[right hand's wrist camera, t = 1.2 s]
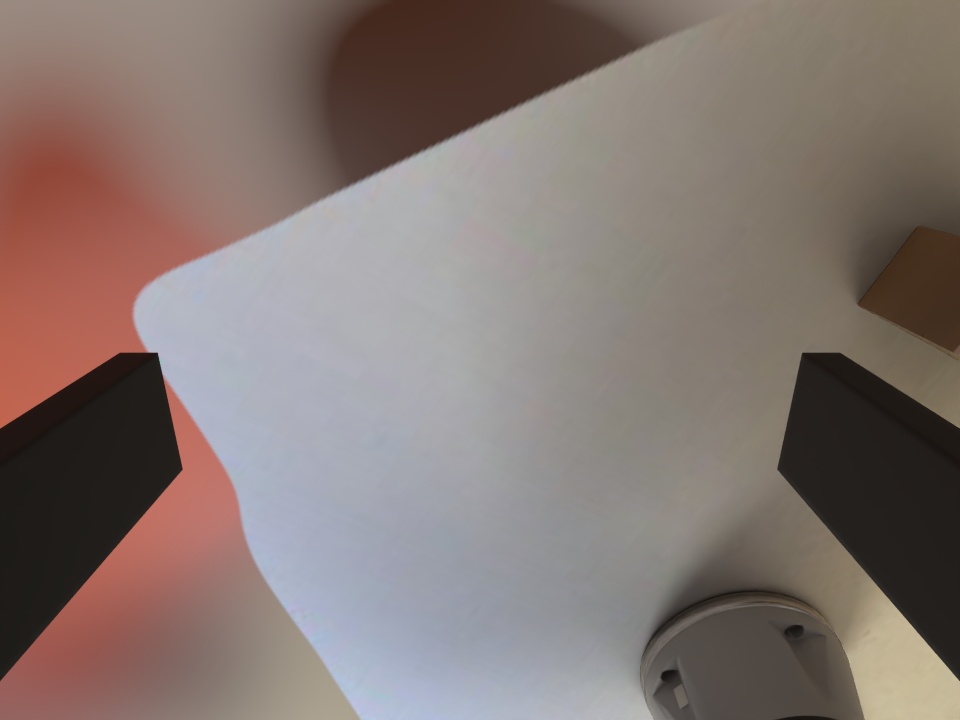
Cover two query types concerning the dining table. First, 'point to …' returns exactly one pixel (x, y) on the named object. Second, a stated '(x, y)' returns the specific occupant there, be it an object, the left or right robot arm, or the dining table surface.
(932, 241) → the bar
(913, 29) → the dining table surface
